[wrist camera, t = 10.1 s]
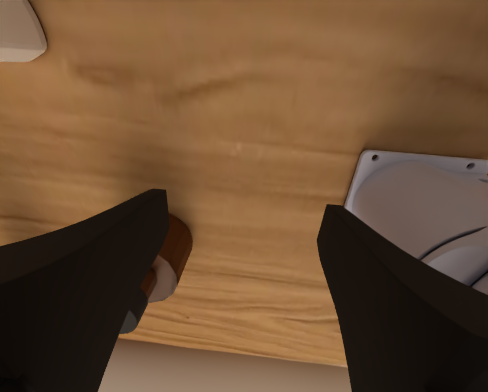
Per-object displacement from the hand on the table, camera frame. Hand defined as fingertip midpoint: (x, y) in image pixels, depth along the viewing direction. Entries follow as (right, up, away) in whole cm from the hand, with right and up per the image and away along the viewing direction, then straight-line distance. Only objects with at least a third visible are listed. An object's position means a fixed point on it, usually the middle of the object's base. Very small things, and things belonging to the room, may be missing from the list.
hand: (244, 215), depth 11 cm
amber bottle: (-9, -3, +13) cm, 16 cm away
